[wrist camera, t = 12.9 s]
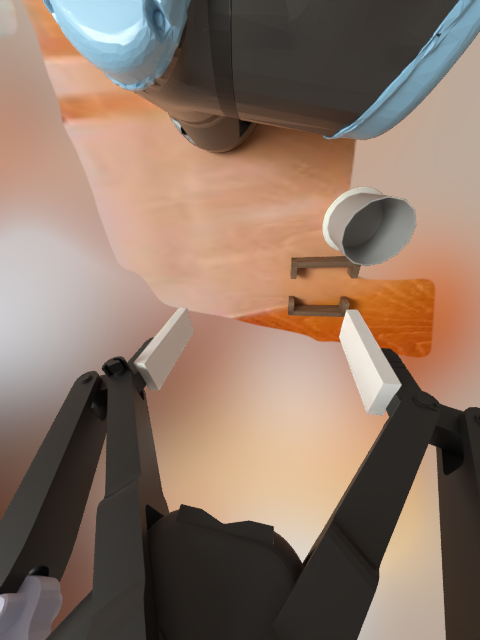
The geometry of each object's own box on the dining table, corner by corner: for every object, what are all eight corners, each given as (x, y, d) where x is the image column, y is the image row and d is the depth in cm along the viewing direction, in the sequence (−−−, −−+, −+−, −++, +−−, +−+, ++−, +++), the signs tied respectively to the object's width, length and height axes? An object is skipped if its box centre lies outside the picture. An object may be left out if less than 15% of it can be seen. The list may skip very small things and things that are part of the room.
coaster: (327, 189, 31) (328, 190, 31) (397, 183, 29) (398, 183, 29) (318, 251, 37) (318, 252, 37) (376, 249, 35) (376, 250, 35)
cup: (385, 185, 29) (423, 186, 21) (379, 239, 34) (410, 257, 26) (326, 202, 32) (340, 209, 24) (328, 251, 36) (341, 270, 28)
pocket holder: (291, 257, 38) (292, 262, 36) (356, 255, 36) (361, 261, 34) (288, 308, 45) (288, 315, 43) (342, 309, 43) (346, 316, 41)
